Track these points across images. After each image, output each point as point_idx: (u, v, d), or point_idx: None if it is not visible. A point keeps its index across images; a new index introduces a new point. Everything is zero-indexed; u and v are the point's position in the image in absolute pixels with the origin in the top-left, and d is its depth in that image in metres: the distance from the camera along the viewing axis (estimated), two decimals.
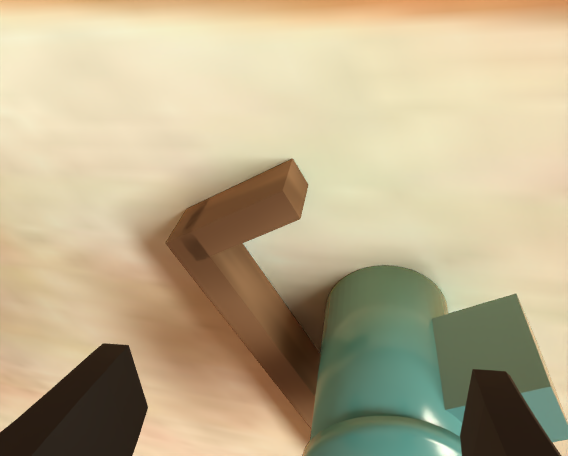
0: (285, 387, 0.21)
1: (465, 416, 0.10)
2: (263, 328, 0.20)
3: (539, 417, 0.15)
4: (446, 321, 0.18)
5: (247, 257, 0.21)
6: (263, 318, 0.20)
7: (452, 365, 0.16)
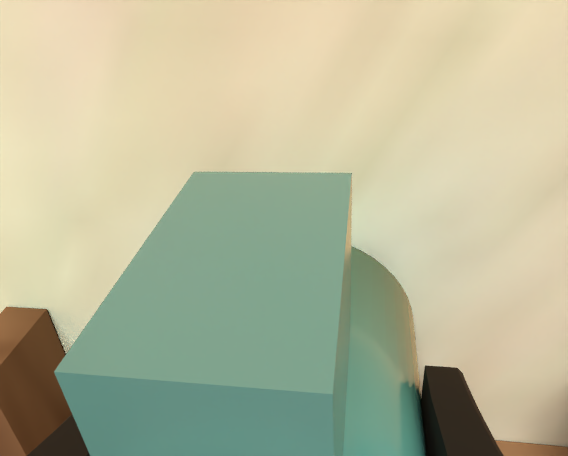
0: None
1: None
2: None
3: (197, 431, 0.04)
4: None
5: None
6: None
7: None
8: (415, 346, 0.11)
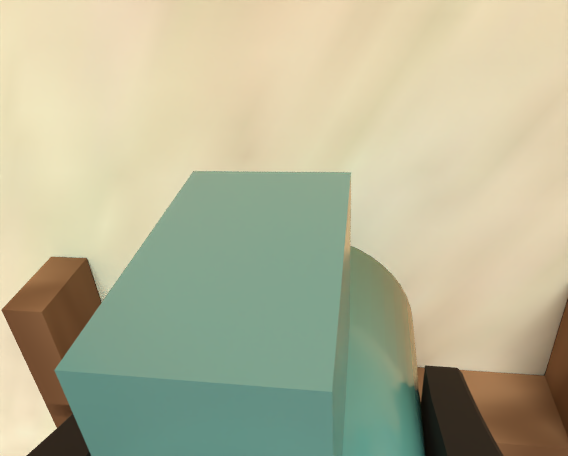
0: None
1: None
2: None
3: (197, 429, 0.04)
4: None
5: None
6: None
7: None
8: (414, 345, 0.11)
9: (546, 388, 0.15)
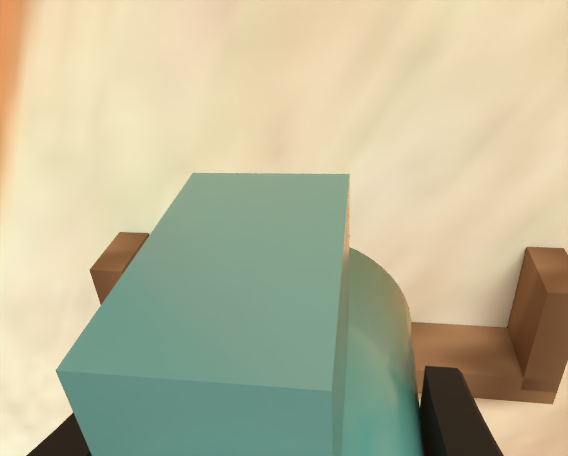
0: None
1: (420, 412, 0.10)
2: None
3: (198, 429, 0.04)
4: None
5: None
6: None
7: None
8: (413, 346, 0.11)
9: (507, 336, 0.19)
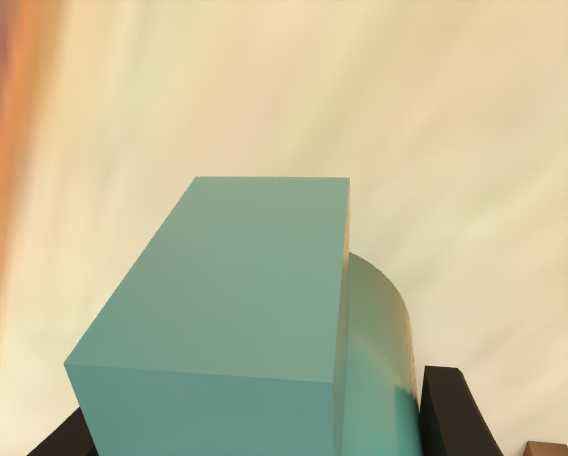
0: None
1: (420, 412, 0.10)
2: None
3: (202, 421, 0.05)
4: None
5: None
6: None
7: None
8: (412, 350, 0.11)
9: None
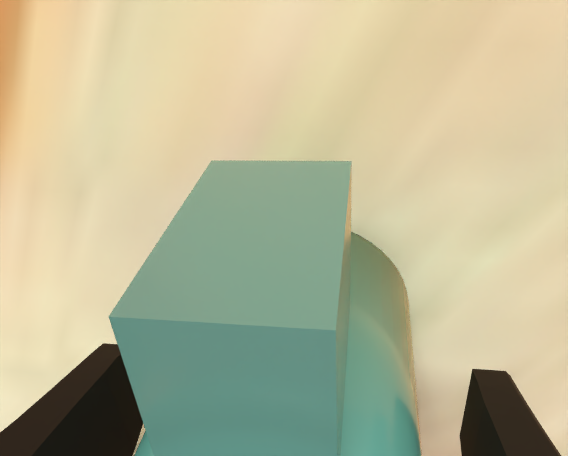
0: None
1: (465, 416, 0.10)
2: None
3: (225, 366, 0.05)
4: None
5: None
6: None
7: None
8: (409, 323, 0.12)
9: None
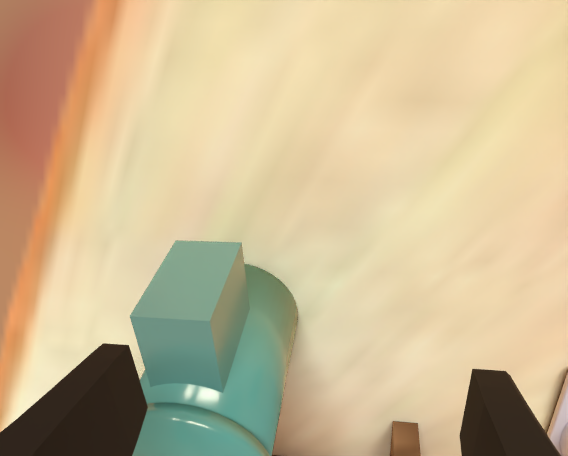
0: None
1: (465, 416, 0.10)
2: None
3: (173, 334, 0.15)
4: None
5: None
6: None
7: None
8: (292, 320, 0.21)
9: None
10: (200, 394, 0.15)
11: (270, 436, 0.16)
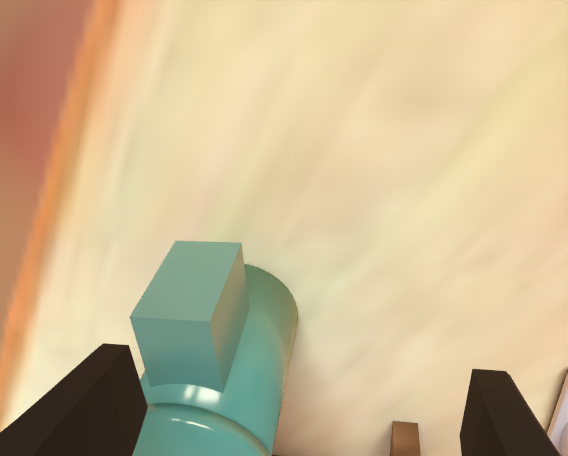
0: None
1: (465, 416, 0.10)
2: None
3: (173, 335, 0.15)
4: None
5: None
6: None
7: None
8: (292, 320, 0.21)
9: None
10: (200, 394, 0.15)
11: (270, 436, 0.16)
